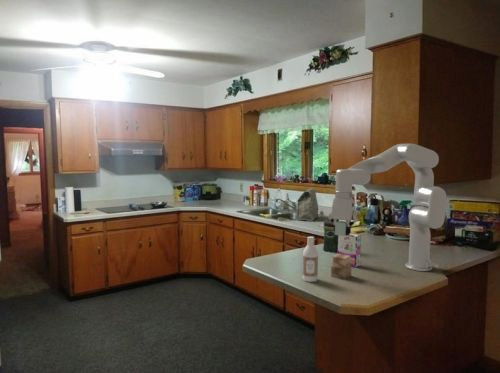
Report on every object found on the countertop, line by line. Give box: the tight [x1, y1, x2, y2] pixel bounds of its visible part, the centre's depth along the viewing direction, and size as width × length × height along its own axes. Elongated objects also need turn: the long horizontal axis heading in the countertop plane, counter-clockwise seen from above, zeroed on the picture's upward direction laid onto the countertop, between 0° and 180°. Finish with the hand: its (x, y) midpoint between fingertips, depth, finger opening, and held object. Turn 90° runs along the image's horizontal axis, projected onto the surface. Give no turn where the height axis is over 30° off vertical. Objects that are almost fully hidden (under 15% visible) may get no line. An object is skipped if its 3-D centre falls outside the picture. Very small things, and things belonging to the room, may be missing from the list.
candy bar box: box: [337, 233, 362, 268], centre depth 193 cm, size 11×5×16 cm, turn 44°
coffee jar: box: [322, 219, 338, 253], centre depth 221 cm, size 10×8×19 cm
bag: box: [296, 187, 319, 222], centre depth 328 cm, size 22×16×27 cm
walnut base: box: [330, 265, 352, 281], centre depth 175 cm, size 7×7×5 cm
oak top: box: [332, 253, 350, 269], centre depth 175 cm, size 6×6×5 cm
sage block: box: [335, 220, 347, 236], centre depth 173 cm, size 5×5×6 cm
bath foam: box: [301, 236, 319, 283], centre depth 169 cm, size 7×7×20 cm
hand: (342, 233), depth 174 cm, fingers closed on sage block, 5 cm apart
